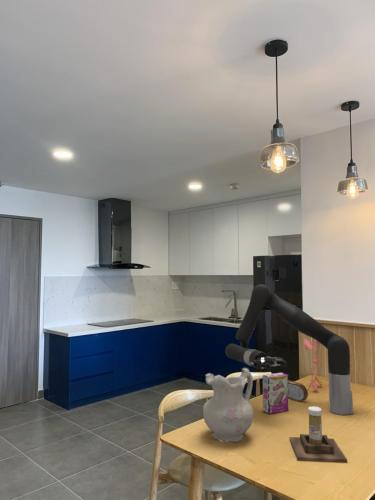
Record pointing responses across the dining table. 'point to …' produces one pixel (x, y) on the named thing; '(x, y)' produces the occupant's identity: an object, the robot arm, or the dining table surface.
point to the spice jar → (315, 425)
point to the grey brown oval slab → (297, 391)
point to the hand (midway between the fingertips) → (278, 365)
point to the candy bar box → (275, 393)
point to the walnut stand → (316, 449)
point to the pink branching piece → (308, 345)
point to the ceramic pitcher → (229, 407)
